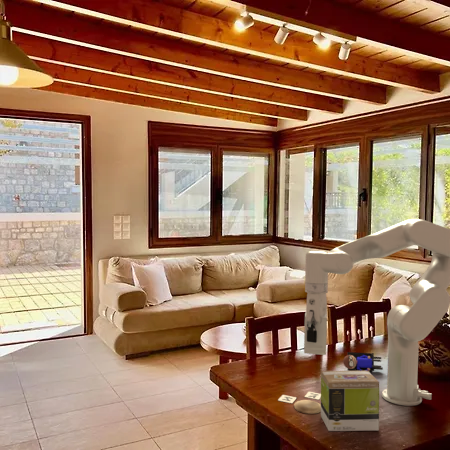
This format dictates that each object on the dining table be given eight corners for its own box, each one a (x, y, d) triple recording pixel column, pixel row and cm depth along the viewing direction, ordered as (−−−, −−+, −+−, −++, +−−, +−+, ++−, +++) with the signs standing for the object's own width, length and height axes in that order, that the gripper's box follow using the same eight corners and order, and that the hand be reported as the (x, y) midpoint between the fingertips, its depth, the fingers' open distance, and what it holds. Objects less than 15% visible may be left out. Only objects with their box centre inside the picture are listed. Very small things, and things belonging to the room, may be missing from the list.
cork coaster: (325, 405, 156) (325, 403, 156) (318, 416, 148) (318, 414, 148) (298, 399, 160) (298, 397, 160) (290, 410, 152) (290, 408, 152)
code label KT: (322, 394, 164) (322, 394, 164) (318, 399, 160) (318, 399, 160) (308, 391, 166) (308, 391, 166) (304, 397, 162) (304, 396, 162)
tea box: (367, 416, 148) (369, 369, 147) (379, 432, 138) (380, 381, 137) (319, 416, 148) (320, 369, 147) (327, 432, 138) (328, 381, 137)
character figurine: (383, 376, 183) (343, 374, 186) (380, 368, 190) (342, 366, 193) (384, 357, 182) (344, 354, 185) (381, 349, 189) (342, 347, 192)
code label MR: (296, 398, 161) (296, 397, 161) (292, 403, 157) (292, 403, 157) (282, 395, 163) (282, 394, 163) (277, 400, 159) (277, 400, 159)
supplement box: (326, 355, 158) (327, 317, 157) (303, 353, 159) (304, 316, 159) (326, 348, 165) (326, 312, 165) (304, 347, 167) (305, 311, 166)
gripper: (320, 293, 152) (319, 347, 153) (333, 284, 167) (332, 333, 168) (297, 290, 155) (296, 343, 156) (312, 282, 171) (311, 331, 172)
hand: (315, 338), depth 162 cm, fingers closed on supplement box, 8 cm apart
